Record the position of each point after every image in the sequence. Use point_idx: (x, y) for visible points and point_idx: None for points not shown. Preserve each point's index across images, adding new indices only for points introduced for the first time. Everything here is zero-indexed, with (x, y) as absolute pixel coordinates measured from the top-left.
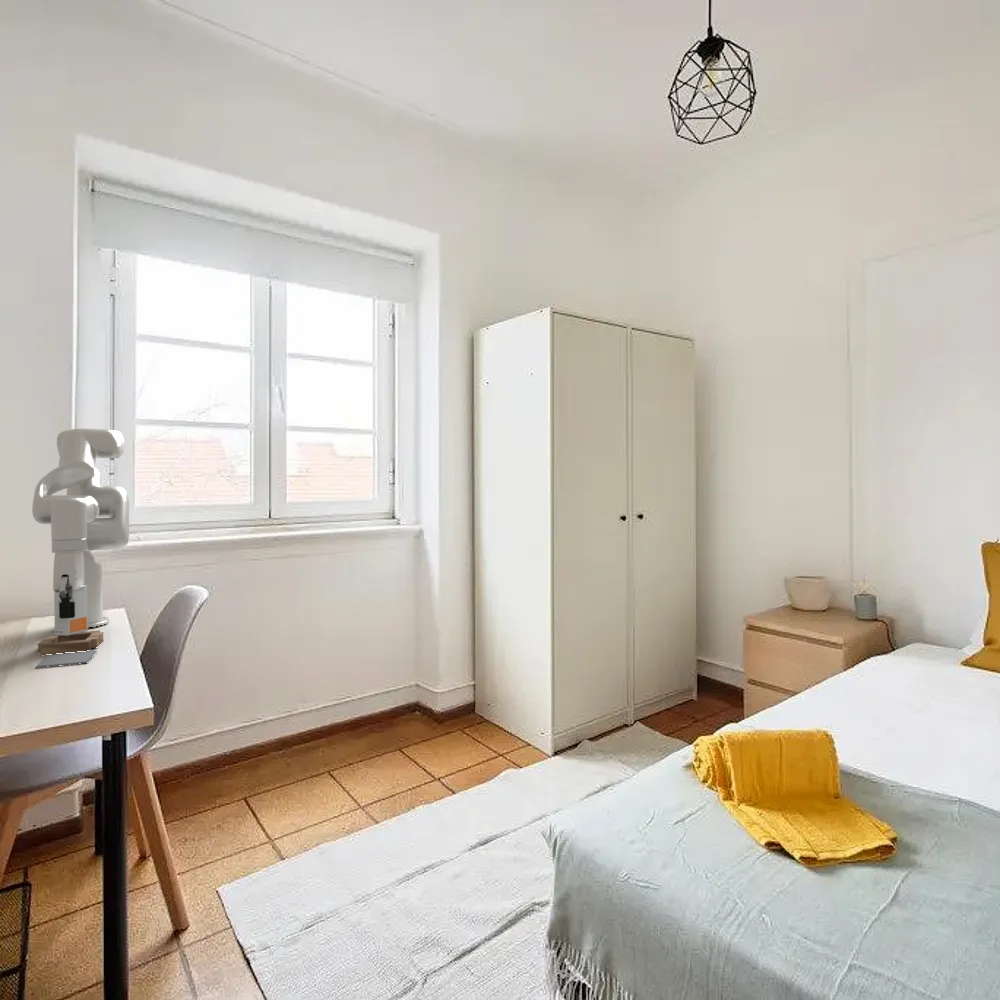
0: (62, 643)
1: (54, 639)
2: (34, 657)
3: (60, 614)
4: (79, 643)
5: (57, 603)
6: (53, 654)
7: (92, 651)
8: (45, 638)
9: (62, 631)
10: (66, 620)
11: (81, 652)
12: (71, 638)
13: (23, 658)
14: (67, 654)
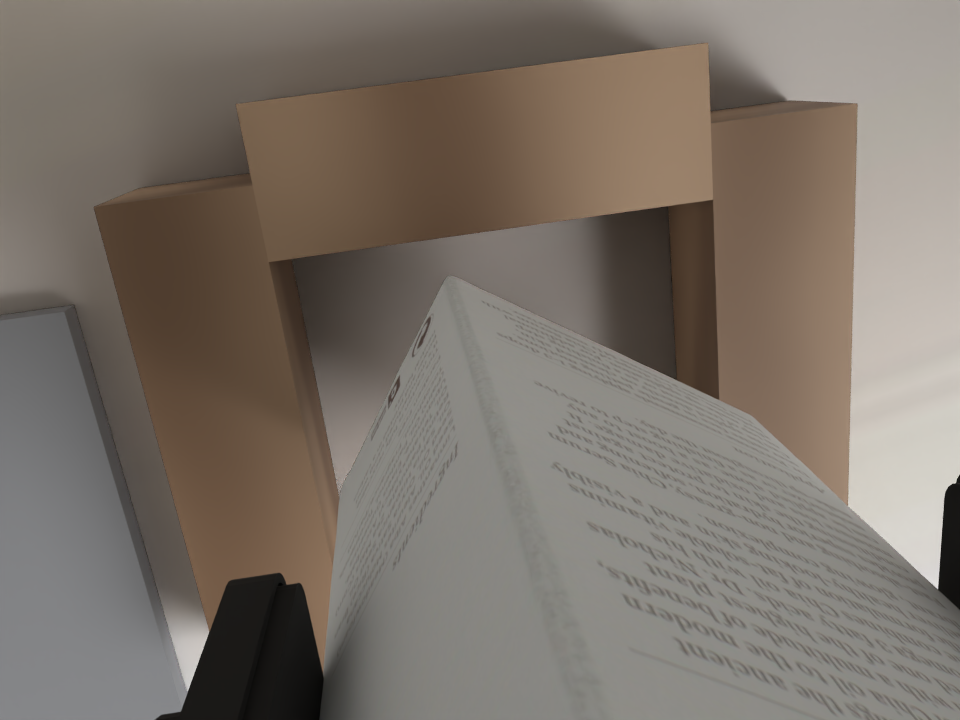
0: (187, 451)
1: (505, 226)
2: (74, 135)
3: (220, 646)
4: (213, 620)
5: (459, 683)
6: (72, 363)
7: (150, 712)
8: (568, 79)
9: (379, 431)
10: (335, 612)
11: (127, 623)
12: (699, 340)
13: (38, 6)
14: (51, 519)
